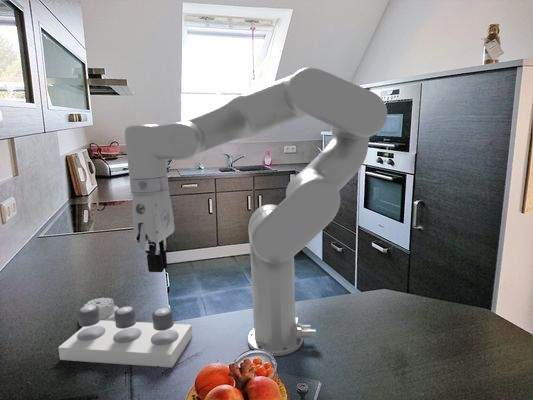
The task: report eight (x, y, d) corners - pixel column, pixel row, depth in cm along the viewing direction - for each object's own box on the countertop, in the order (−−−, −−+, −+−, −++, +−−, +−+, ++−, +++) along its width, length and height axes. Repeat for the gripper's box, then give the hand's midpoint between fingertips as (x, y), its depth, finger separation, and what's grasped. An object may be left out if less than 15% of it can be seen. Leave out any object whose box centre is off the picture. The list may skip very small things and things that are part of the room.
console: (192, 336, 91) (191, 323, 91) (172, 367, 80) (170, 353, 79) (93, 330, 95) (91, 319, 95) (60, 359, 84) (58, 346, 83)
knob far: (104, 317, 90) (102, 304, 89) (92, 327, 85) (90, 313, 85) (87, 316, 90) (85, 303, 90) (75, 326, 86) (73, 312, 85)
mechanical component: (127, 315, 103) (108, 306, 109) (125, 300, 102) (106, 291, 108) (91, 332, 95) (72, 320, 102) (88, 315, 95) (70, 305, 101)
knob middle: (139, 319, 88) (138, 305, 87) (130, 329, 84) (128, 315, 83) (122, 318, 89) (120, 305, 88) (111, 328, 85) (110, 314, 84)
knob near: (176, 320, 87) (175, 307, 86) (168, 331, 82) (167, 317, 82) (158, 319, 87) (157, 306, 87) (149, 330, 83) (148, 316, 82)
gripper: (149, 192, 71) (158, 285, 74) (181, 179, 86) (187, 257, 89) (112, 192, 72) (123, 284, 75) (149, 180, 87) (157, 257, 90)
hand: (158, 269), depth 82 cm, fingers closed
